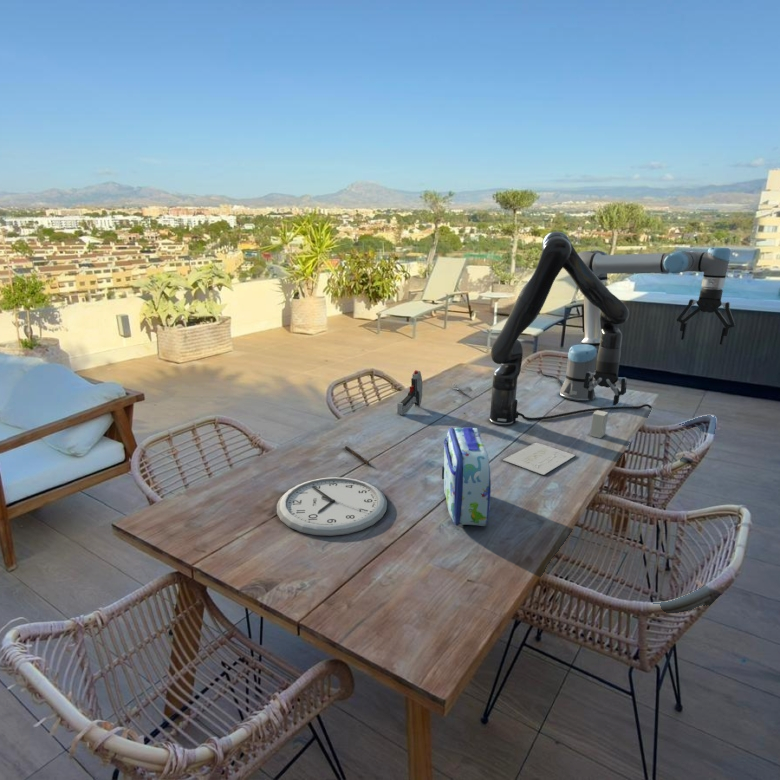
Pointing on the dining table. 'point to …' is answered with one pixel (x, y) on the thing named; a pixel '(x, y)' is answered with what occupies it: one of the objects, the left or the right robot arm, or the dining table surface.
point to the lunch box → (466, 477)
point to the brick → (598, 424)
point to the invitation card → (539, 458)
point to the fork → (458, 389)
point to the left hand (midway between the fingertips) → (602, 402)
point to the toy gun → (412, 394)
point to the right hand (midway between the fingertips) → (701, 341)
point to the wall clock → (331, 506)
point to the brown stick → (357, 455)
